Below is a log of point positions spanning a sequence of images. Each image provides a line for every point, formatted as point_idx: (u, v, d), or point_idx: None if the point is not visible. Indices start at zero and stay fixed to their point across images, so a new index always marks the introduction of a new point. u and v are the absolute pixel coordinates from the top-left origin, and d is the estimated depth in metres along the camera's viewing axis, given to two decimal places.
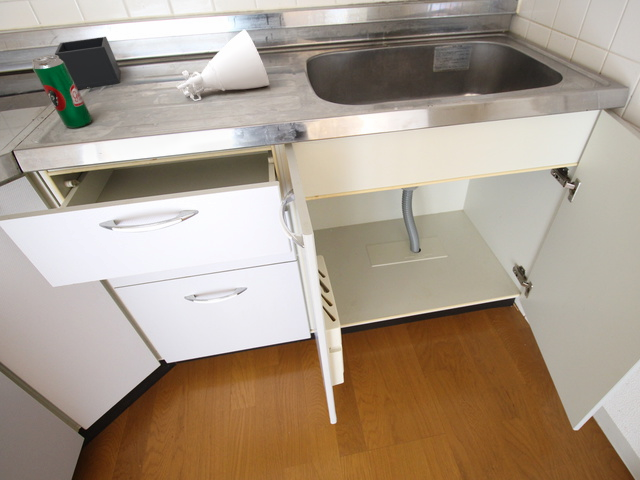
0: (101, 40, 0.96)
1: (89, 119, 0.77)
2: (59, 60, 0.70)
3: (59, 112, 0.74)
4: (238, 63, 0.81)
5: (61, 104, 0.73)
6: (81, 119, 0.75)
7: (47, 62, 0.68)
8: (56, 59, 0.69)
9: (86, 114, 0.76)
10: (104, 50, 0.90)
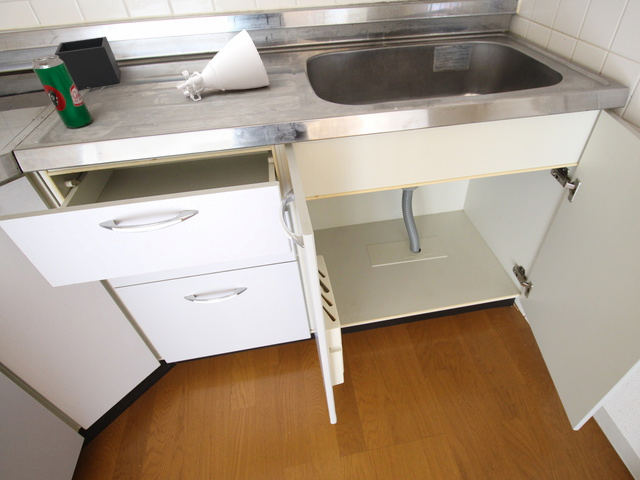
0: (101, 40, 0.96)
1: (89, 119, 0.77)
2: (59, 60, 0.70)
3: (59, 112, 0.74)
4: (238, 63, 0.81)
5: (61, 104, 0.73)
6: (81, 119, 0.75)
7: (47, 62, 0.68)
8: (56, 59, 0.69)
9: (86, 114, 0.76)
10: (104, 50, 0.90)
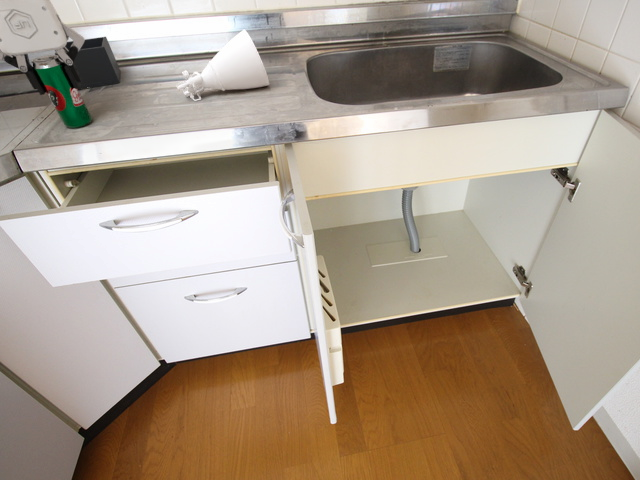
0: (101, 40, 0.96)
1: (89, 119, 0.77)
2: (59, 60, 0.70)
3: (59, 112, 0.74)
4: (238, 63, 0.81)
5: (61, 104, 0.73)
6: (81, 119, 0.75)
7: (47, 62, 0.68)
8: (56, 59, 0.69)
9: (86, 114, 0.76)
10: (104, 50, 0.90)
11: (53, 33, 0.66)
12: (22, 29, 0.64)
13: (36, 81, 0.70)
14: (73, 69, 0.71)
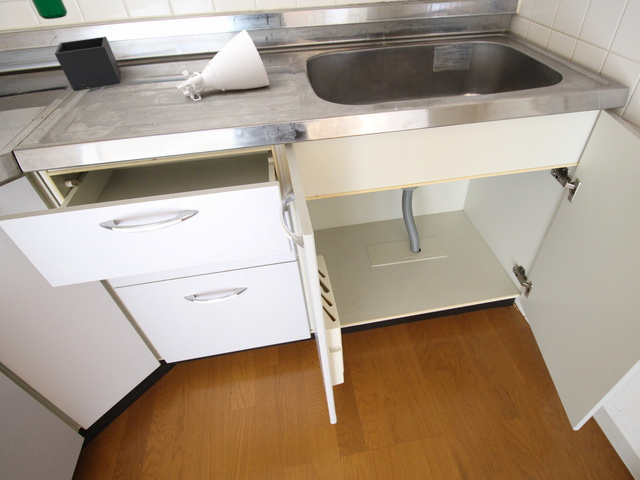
0: (101, 40, 0.96)
1: (64, 11, 0.79)
2: None
3: (34, 0, 0.76)
4: (238, 63, 0.81)
5: None
6: (55, 9, 0.78)
7: None
8: None
9: (61, 6, 0.78)
10: (104, 50, 0.90)
11: None
12: None
13: None
14: None
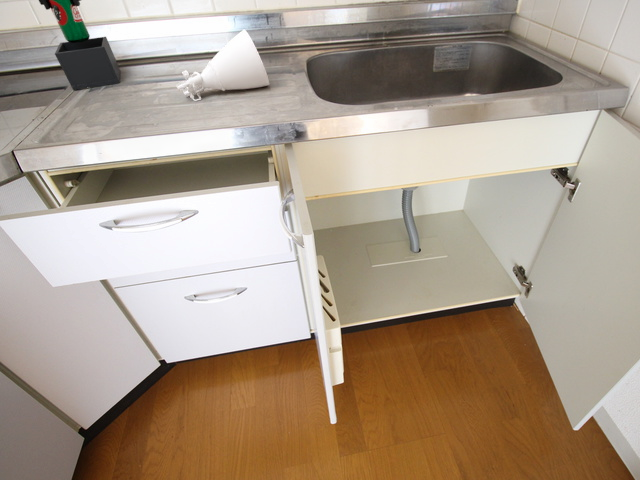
0: (101, 40, 0.96)
1: (87, 35, 0.90)
2: None
3: (61, 26, 0.87)
4: (238, 63, 0.81)
5: (63, 18, 0.86)
6: (80, 34, 0.88)
7: None
8: None
9: (85, 31, 0.89)
10: (104, 50, 0.90)
11: None
12: None
13: None
14: None
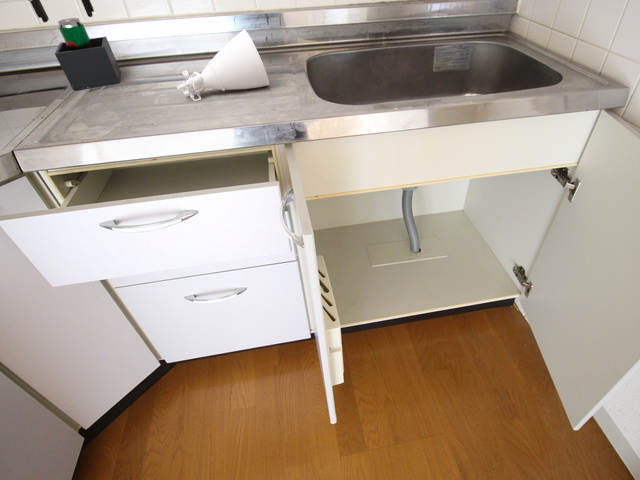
0: (101, 40, 0.96)
1: None
2: (79, 22, 0.88)
3: None
4: (238, 63, 0.81)
5: None
6: None
7: (70, 22, 0.87)
8: (77, 21, 0.88)
9: None
10: (104, 50, 0.90)
11: None
12: None
13: (40, 9, 0.84)
14: None
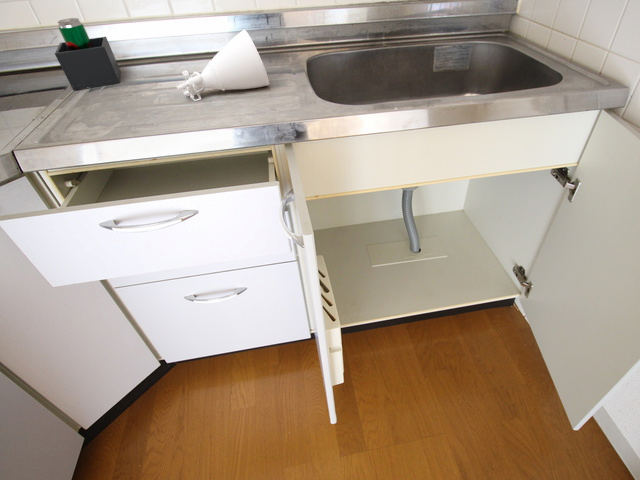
0: (101, 40, 0.96)
1: None
2: (79, 22, 0.88)
3: None
4: (238, 63, 0.81)
5: None
6: None
7: (70, 23, 0.87)
8: (77, 21, 0.88)
9: None
10: (104, 50, 0.90)
11: None
12: None
13: None
14: None
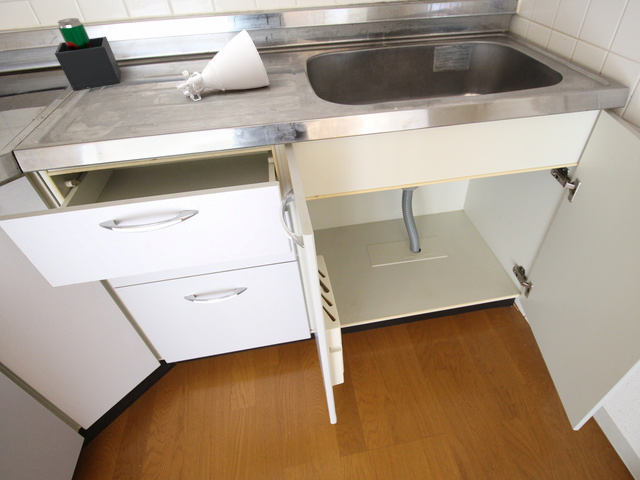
0: (101, 40, 0.96)
1: None
2: (79, 22, 0.88)
3: None
4: (238, 63, 0.81)
5: None
6: None
7: (70, 23, 0.87)
8: (77, 21, 0.88)
9: None
10: (104, 50, 0.90)
11: None
12: None
13: None
14: None
